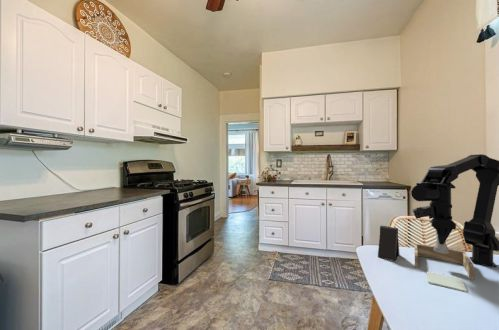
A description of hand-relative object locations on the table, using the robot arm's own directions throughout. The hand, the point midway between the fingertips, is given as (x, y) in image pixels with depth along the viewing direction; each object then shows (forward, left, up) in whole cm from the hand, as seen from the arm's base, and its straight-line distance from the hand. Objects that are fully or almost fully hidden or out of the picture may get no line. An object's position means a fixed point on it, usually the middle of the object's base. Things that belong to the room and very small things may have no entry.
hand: (441, 243), depth 84 cm
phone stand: (-1, -17, -9) cm, 19 cm away
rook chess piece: (0, 0, -3) cm, 3 cm away
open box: (-2, 0, -9) cm, 9 cm away
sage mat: (+13, 0, -9) cm, 16 cm away
